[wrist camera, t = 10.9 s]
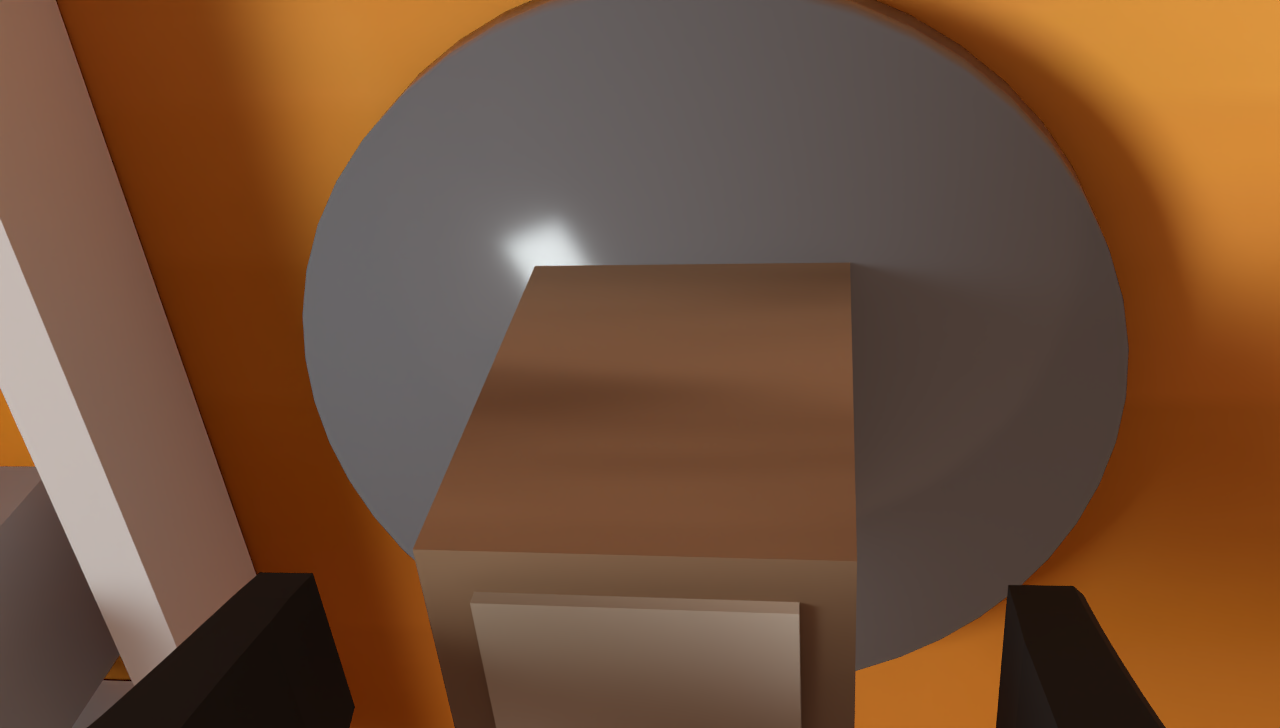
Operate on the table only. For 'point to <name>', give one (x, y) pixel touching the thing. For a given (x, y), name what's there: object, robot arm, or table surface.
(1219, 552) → the table surface
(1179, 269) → the table surface
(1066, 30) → the table surface
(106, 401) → the white rectangular frame
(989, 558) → the slate pad
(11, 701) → the plain grey box
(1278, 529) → the table surface
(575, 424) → the labelled walnut box
